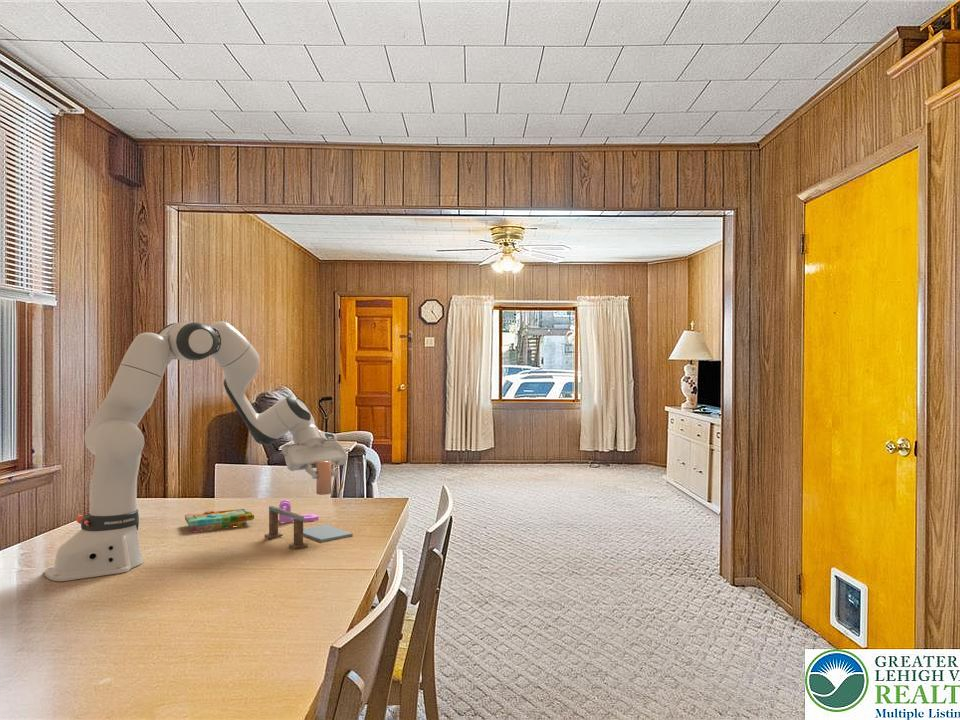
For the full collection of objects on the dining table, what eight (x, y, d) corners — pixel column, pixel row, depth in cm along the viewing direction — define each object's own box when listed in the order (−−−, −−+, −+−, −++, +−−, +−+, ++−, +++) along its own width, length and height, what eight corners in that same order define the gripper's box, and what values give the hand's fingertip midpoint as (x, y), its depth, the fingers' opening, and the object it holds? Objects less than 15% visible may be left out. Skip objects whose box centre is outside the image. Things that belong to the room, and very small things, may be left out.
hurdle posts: (295, 549, 197) (295, 521, 197) (264, 536, 212) (264, 510, 212) (307, 546, 200) (308, 519, 200) (276, 534, 214) (276, 509, 214)
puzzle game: (184, 512, 227) (247, 506, 236) (184, 526, 227) (247, 519, 236) (189, 519, 216) (254, 512, 226) (189, 534, 216) (254, 526, 226)
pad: (321, 542, 205) (321, 539, 205) (295, 532, 217) (295, 530, 217) (352, 536, 212) (352, 533, 212) (326, 527, 224) (326, 524, 224)
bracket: (279, 523, 230) (279, 503, 230) (279, 520, 235) (279, 499, 235) (318, 521, 233) (318, 500, 233) (318, 517, 239) (318, 497, 239)
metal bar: (299, 521, 198) (299, 516, 198) (268, 510, 213) (268, 506, 213) (303, 520, 199) (303, 516, 199) (272, 509, 214) (272, 505, 214)
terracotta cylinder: (321, 495, 211) (321, 463, 211) (313, 493, 215) (313, 461, 215) (334, 493, 215) (334, 461, 215) (326, 491, 218) (326, 460, 218)
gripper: (283, 438, 213) (298, 473, 206) (340, 434, 227) (356, 466, 219) (276, 451, 216) (291, 486, 209) (333, 446, 230) (348, 478, 223)
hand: (324, 476), depth 214 cm, fingers closed on terracotta cylinder, 5 cm apart
